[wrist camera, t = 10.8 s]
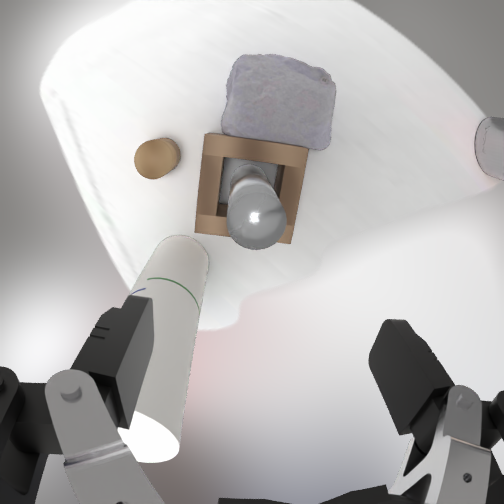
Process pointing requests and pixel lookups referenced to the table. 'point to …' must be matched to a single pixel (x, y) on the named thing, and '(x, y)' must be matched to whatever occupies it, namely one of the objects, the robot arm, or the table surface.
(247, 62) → the stone block
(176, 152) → the oak stub
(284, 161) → the collar
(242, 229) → the steel pin
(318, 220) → the table surface
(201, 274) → the cylindrical container
